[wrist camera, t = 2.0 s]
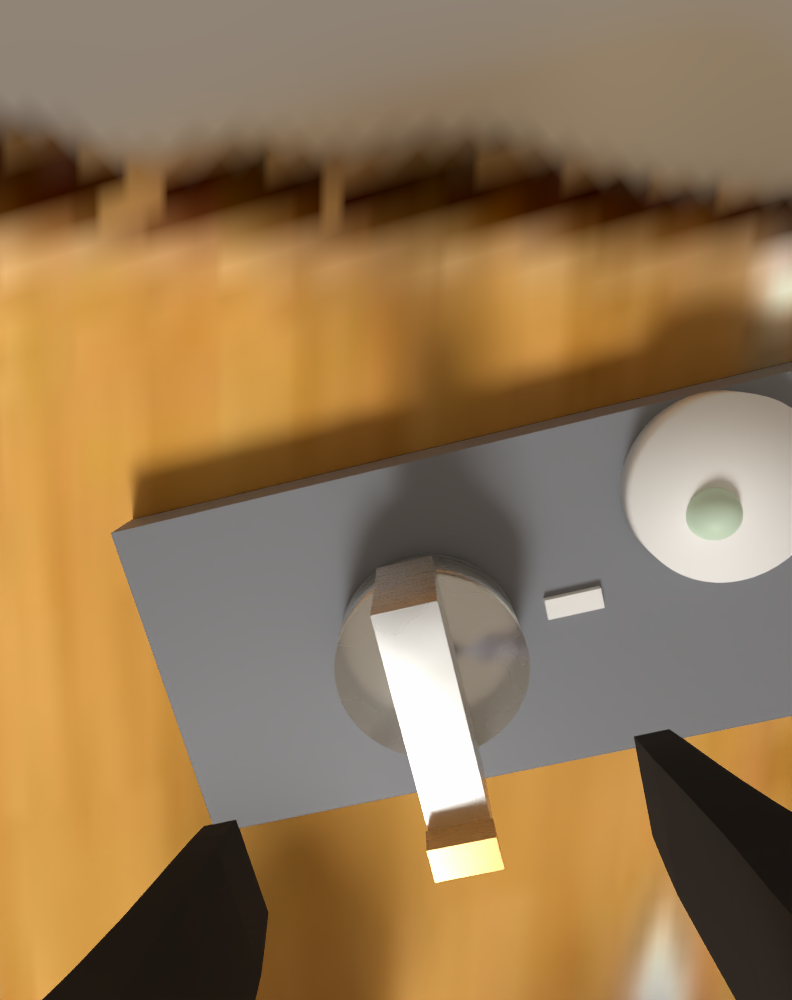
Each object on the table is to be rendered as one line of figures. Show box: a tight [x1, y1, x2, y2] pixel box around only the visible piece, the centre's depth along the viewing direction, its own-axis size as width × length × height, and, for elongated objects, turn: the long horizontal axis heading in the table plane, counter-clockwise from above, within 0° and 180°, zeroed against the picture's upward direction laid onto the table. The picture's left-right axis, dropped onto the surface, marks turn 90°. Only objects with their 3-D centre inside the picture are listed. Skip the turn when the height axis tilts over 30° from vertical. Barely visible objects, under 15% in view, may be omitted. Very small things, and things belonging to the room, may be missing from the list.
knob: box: [334, 554, 530, 882], centre depth 17 cm, size 6×5×6 cm
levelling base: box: [111, 362, 792, 828], centre depth 19 cm, size 20×10×3 cm, turn 104°
